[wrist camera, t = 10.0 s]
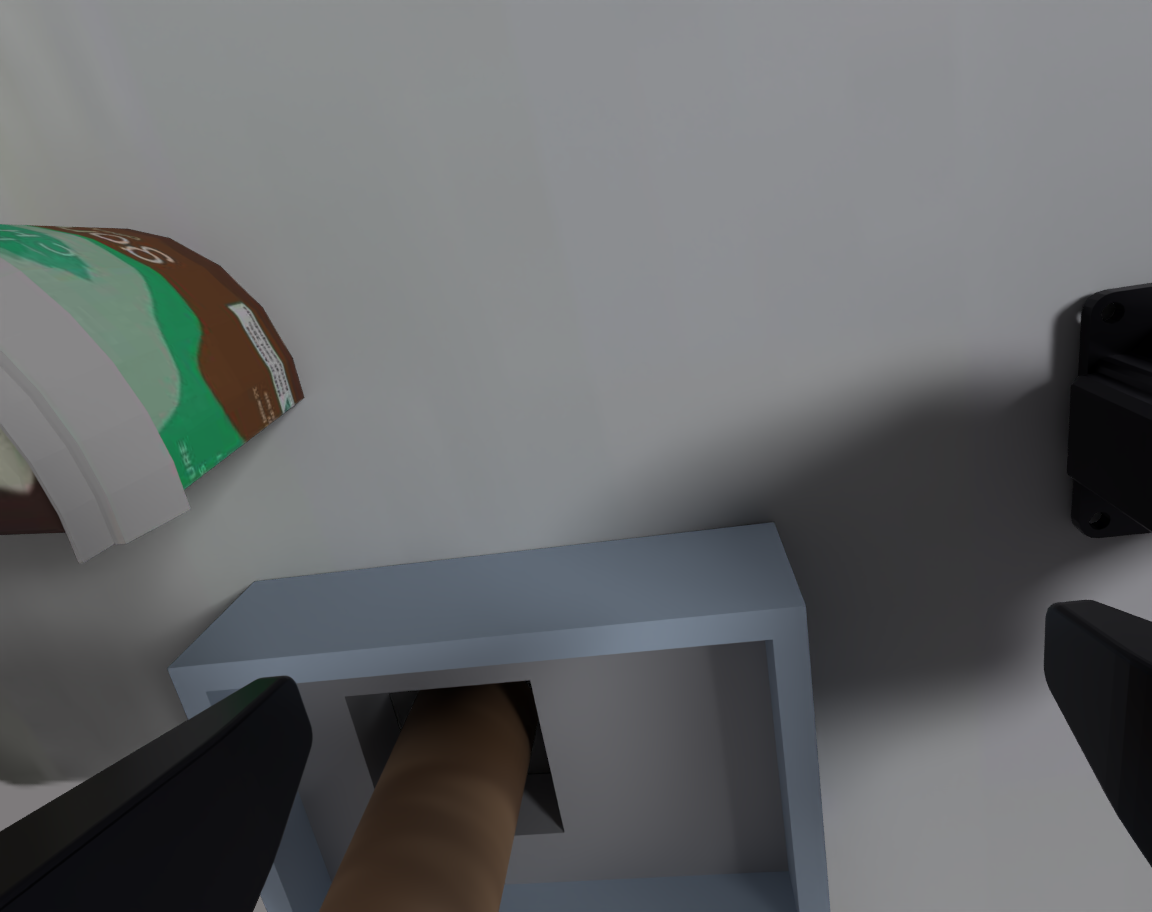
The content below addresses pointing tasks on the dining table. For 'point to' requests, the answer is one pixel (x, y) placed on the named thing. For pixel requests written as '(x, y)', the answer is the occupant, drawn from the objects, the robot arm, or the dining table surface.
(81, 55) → the dining table surface
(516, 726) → the peg
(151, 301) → the food container
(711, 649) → the box
